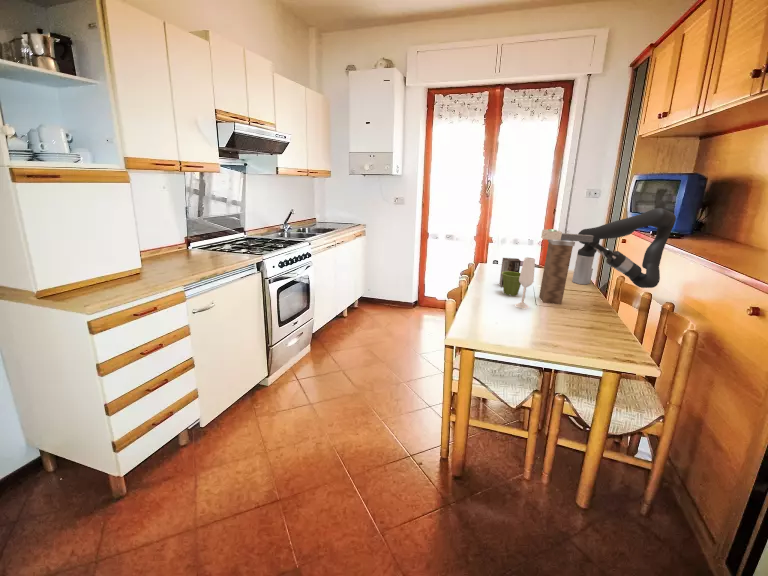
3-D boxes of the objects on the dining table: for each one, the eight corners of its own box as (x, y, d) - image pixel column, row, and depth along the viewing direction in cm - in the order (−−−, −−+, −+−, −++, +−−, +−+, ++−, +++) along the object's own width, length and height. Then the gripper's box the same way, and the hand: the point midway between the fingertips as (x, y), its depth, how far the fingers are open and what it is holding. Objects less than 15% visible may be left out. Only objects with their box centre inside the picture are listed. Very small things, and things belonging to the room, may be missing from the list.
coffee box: (514, 285, 223) (518, 258, 218) (517, 288, 217) (521, 260, 212) (498, 284, 224) (502, 257, 219) (500, 287, 218) (504, 259, 213)
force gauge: (589, 240, 189) (591, 231, 188) (593, 242, 184) (595, 233, 183) (541, 237, 192) (542, 228, 191) (543, 239, 188) (545, 229, 186)
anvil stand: (557, 298, 202) (568, 238, 193) (562, 304, 193) (575, 242, 183) (537, 296, 204) (548, 237, 194) (542, 302, 194) (553, 240, 185)
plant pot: (525, 294, 207) (528, 274, 203) (515, 298, 198) (519, 278, 195) (505, 289, 214) (508, 269, 211) (495, 293, 206) (497, 273, 203)
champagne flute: (512, 305, 188) (519, 258, 180) (518, 302, 192) (525, 256, 185) (525, 309, 183) (533, 260, 176) (531, 306, 188) (539, 258, 181)
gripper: (619, 253, 193) (593, 235, 192) (632, 259, 179) (604, 239, 179) (608, 264, 195) (582, 247, 195) (620, 271, 182) (592, 252, 181)
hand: (593, 243), depth 187 cm, fingers open, 8 cm apart
